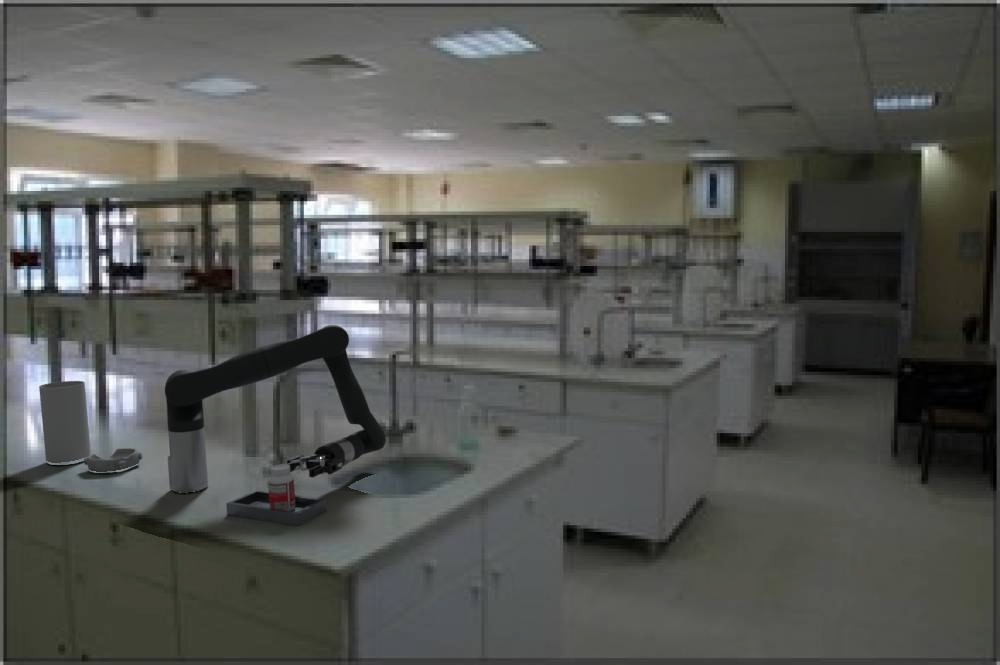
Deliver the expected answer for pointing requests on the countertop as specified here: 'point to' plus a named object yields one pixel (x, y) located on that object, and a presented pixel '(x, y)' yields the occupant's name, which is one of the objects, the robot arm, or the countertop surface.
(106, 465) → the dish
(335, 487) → the countertop surface
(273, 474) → the pill bottle
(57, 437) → the cylinder vase
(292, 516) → the rectangular tray
